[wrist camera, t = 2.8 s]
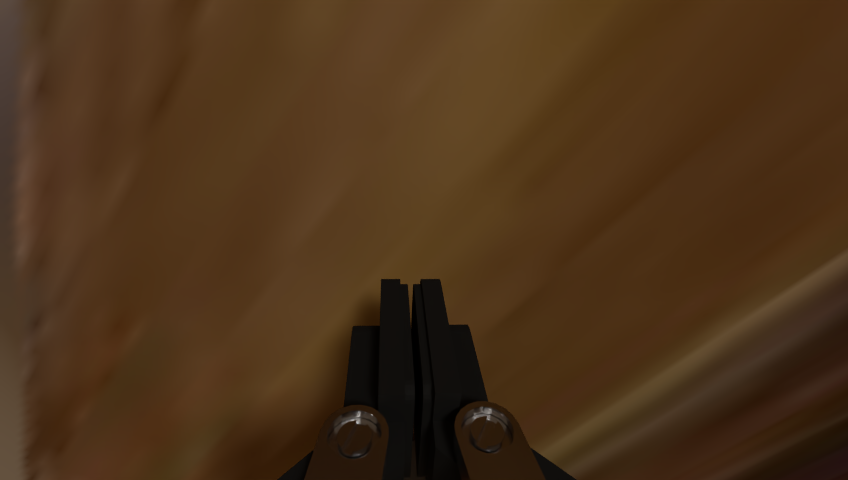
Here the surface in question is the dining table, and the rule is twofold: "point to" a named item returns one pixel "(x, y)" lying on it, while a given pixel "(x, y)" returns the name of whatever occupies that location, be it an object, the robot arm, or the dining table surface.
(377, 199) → the dining table surface
